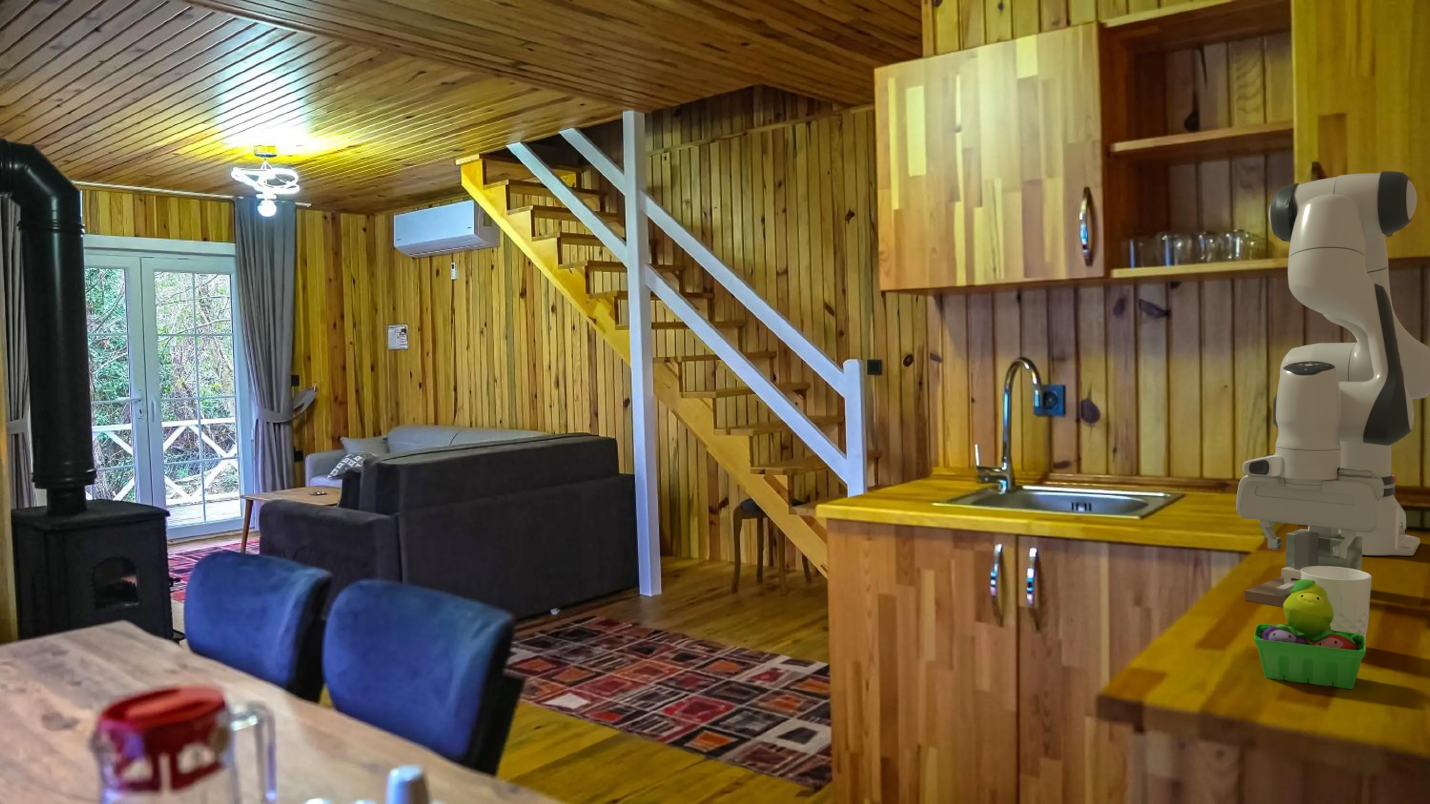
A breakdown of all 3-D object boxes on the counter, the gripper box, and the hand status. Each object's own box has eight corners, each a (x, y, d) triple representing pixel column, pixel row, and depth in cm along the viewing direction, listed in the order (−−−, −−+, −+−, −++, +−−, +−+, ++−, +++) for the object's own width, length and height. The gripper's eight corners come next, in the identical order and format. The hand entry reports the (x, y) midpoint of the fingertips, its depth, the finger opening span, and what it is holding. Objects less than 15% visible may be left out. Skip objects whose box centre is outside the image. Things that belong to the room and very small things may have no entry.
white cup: (1381, 658, 127) (1382, 580, 126) (1313, 656, 128) (1313, 579, 128) (1354, 640, 134) (1356, 566, 134) (1290, 638, 136) (1291, 565, 135)
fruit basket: (1252, 679, 120) (1253, 587, 119) (1257, 659, 128) (1257, 571, 127) (1365, 695, 114) (1367, 597, 113) (1363, 672, 122) (1364, 581, 121)
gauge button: (1313, 532, 165) (1313, 508, 165) (1347, 536, 161) (1347, 511, 161) (1300, 536, 162) (1301, 511, 162) (1335, 540, 158) (1335, 515, 158)
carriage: (1296, 577, 161) (1297, 529, 161) (1330, 582, 158) (1331, 533, 157) (1281, 583, 158) (1281, 534, 157) (1315, 589, 154) (1316, 538, 153)
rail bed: (1297, 578, 168) (1297, 528, 167) (1365, 589, 160) (1365, 536, 160) (1245, 600, 155) (1245, 546, 155) (1315, 612, 148) (1316, 555, 147)
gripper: (1391, 469, 150) (1389, 560, 151) (1249, 459, 166) (1248, 541, 167) (1376, 473, 146) (1375, 567, 147) (1232, 462, 162) (1231, 547, 163)
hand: (1306, 553), depth 157 cm, fingers open, 8 cm apart
